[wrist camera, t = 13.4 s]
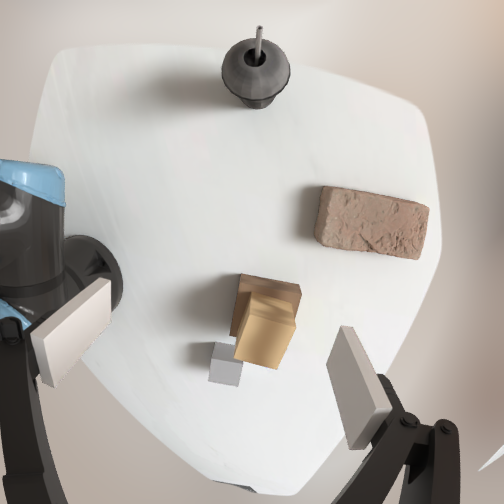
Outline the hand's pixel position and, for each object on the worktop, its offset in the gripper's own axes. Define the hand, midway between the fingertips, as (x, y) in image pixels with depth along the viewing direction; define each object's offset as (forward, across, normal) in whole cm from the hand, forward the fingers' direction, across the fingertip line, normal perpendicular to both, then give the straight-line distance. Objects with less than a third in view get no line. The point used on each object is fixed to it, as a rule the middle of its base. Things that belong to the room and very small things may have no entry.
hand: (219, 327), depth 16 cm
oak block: (+25, +5, -12) cm, 28 cm away
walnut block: (+29, +5, -12) cm, 32 cm away
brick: (+29, +18, +4) cm, 35 cm away
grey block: (+29, +1, -23) cm, 37 cm away
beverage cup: (+29, -2, +19) cm, 35 cm away
